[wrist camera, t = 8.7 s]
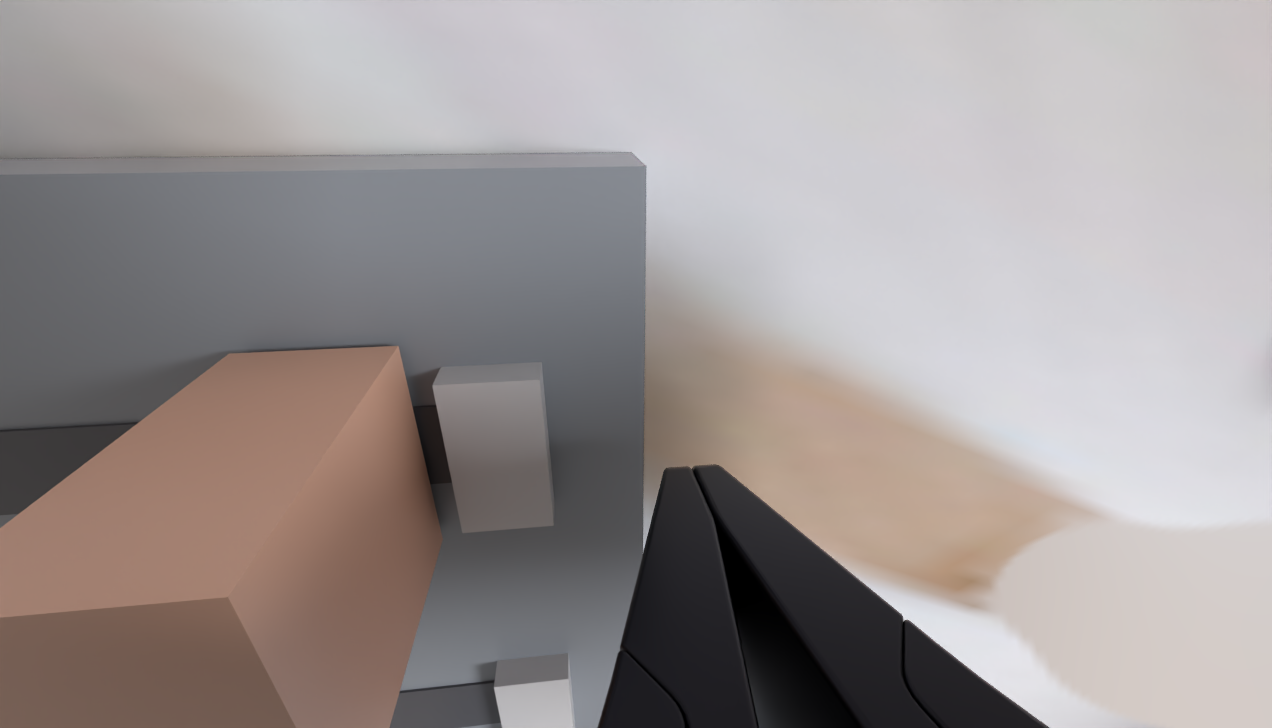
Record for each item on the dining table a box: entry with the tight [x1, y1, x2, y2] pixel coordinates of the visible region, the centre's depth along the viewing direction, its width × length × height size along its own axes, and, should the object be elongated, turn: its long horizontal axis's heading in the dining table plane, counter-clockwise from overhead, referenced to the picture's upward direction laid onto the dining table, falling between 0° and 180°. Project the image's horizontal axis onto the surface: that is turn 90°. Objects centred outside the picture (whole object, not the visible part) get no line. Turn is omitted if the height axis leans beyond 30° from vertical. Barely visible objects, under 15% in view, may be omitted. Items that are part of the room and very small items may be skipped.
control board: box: [0, 152, 646, 728], centre depth 12 cm, size 20×24×3 cm
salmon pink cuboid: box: [0, 346, 443, 728], centre depth 7 cm, size 2×4×4 cm, turn 0°
